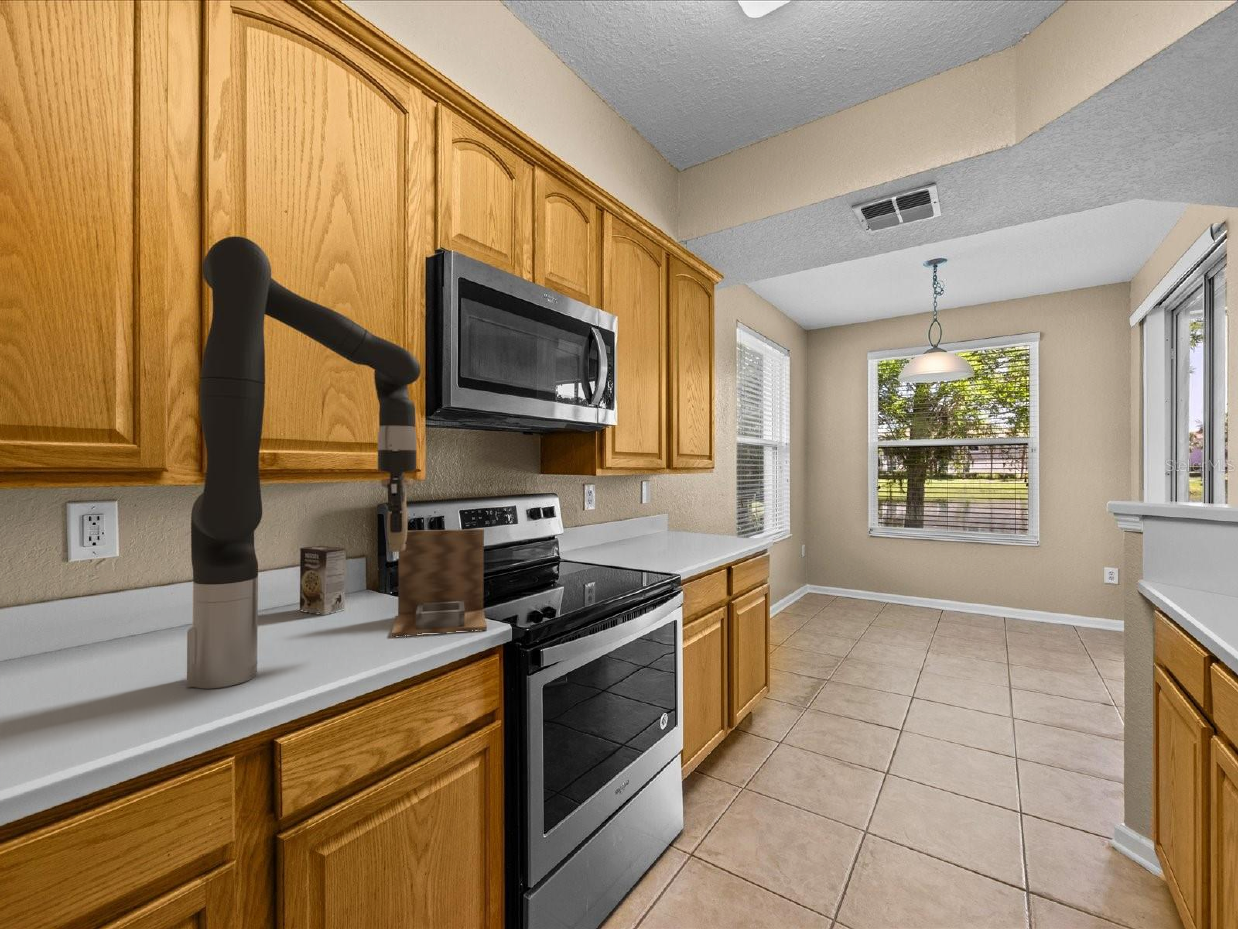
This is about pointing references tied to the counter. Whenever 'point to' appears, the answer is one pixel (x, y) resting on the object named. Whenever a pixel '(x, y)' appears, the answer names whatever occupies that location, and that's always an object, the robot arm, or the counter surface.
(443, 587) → the board
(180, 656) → the counter surface
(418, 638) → the counter surface
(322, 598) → the coffee box
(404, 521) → the handle
